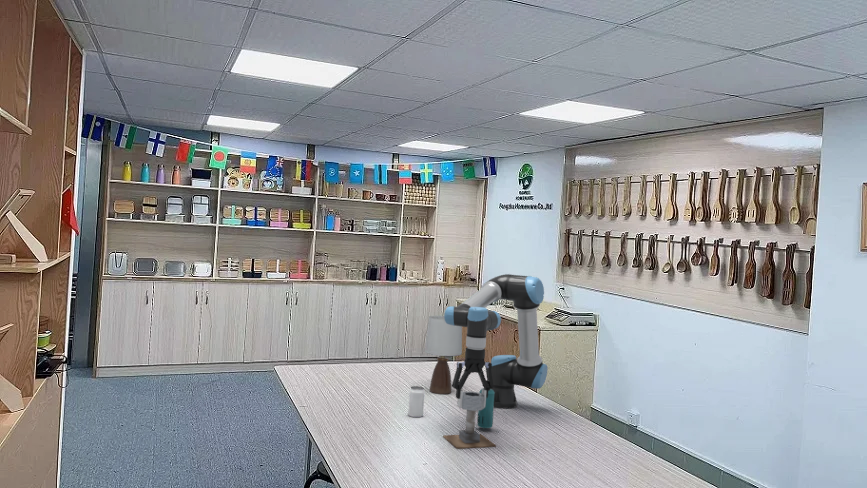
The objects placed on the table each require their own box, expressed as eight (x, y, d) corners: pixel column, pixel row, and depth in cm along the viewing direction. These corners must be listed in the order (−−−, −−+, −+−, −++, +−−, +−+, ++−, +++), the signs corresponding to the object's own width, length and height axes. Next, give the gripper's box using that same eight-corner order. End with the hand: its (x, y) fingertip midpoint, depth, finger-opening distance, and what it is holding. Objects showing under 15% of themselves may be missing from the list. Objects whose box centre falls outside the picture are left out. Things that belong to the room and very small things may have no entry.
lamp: (466, 394, 325) (471, 320, 324) (435, 397, 314) (440, 321, 314) (444, 385, 340) (449, 315, 340) (414, 388, 330) (419, 315, 329)
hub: (477, 404, 255) (478, 391, 255) (486, 410, 247) (487, 397, 247) (455, 404, 252) (456, 391, 252) (465, 410, 244) (466, 397, 244)
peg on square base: (480, 435, 259) (482, 403, 259) (496, 446, 246) (498, 413, 246) (442, 437, 254) (445, 404, 253) (456, 448, 240) (459, 414, 240)
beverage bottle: (494, 428, 269) (497, 380, 269) (490, 432, 263) (493, 383, 263) (478, 426, 272) (482, 378, 271) (474, 430, 265) (478, 381, 265)
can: (421, 418, 277) (423, 390, 277) (406, 416, 278) (408, 388, 278) (424, 414, 284) (426, 387, 283) (409, 412, 285) (411, 385, 285)
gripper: (496, 346, 257) (492, 403, 257) (445, 345, 249) (441, 404, 249) (505, 349, 250) (501, 408, 250) (452, 349, 242) (448, 410, 242)
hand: (471, 406), depth 249 cm, fingers closed on hub, 9 cm apart
